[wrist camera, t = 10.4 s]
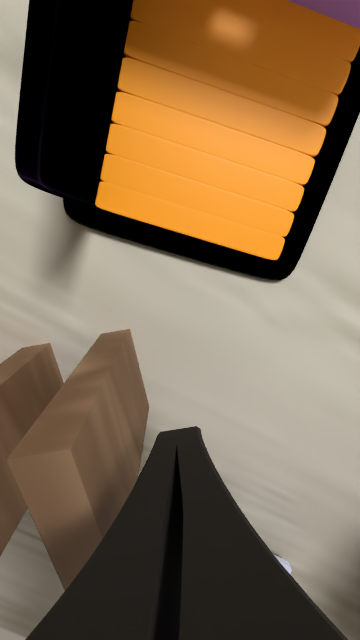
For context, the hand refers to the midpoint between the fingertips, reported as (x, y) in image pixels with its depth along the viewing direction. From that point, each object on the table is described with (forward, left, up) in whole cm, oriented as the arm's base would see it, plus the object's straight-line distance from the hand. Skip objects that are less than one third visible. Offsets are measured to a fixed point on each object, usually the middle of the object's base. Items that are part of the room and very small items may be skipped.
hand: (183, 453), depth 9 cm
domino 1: (+2, +2, -7) cm, 8 cm away
